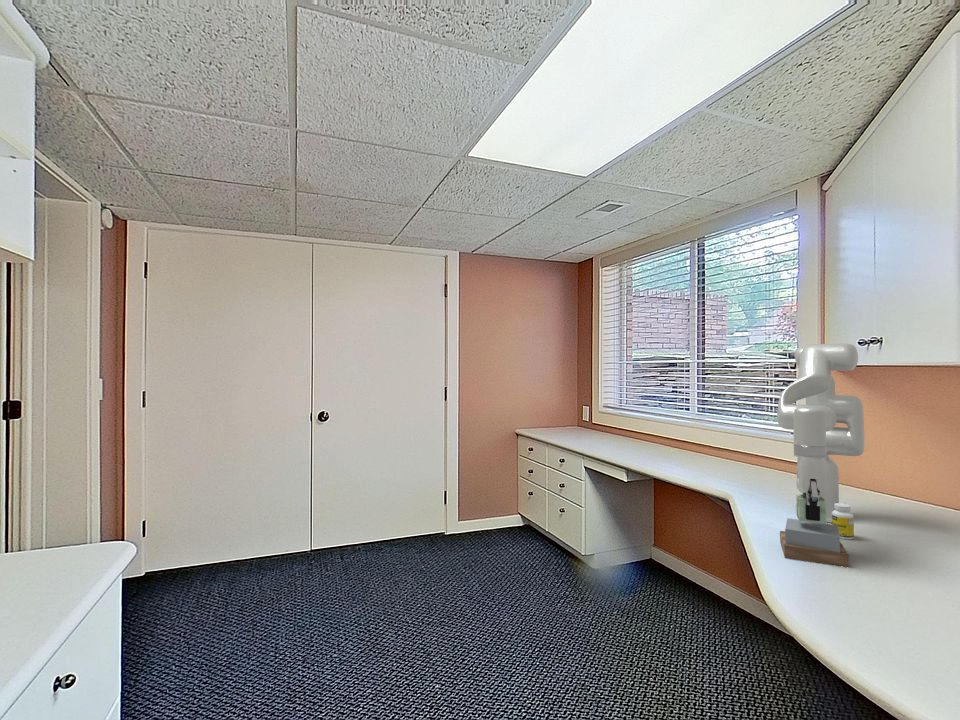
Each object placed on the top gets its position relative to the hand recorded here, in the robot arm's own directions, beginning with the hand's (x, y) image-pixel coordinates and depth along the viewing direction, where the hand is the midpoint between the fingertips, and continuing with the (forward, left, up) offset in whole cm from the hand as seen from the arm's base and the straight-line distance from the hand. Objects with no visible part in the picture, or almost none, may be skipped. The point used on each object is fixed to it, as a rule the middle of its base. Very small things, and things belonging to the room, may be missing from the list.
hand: (810, 516), depth 136 cm
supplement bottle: (-21, +11, -11) cm, 26 cm away
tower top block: (0, 0, -7) cm, 7 cm away
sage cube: (0, 0, -1) cm, 1 cm away
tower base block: (0, 0, -11) cm, 11 cm away
